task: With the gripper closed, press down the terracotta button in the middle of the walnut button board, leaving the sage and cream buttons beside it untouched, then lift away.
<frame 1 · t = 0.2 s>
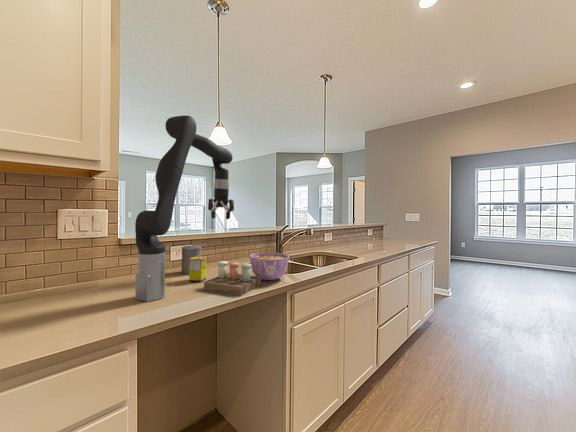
hand: (220, 218, 145), 29 cm above the counter, tool pointing down, fingers open, 8 cm apart
pillar candle: (191, 272, 145), on the counter
walnut board: (233, 287, 121), on the counter
sage button: (246, 272, 119), point 7 cm above the counter, slide at 0.0 cm
supplement box: (197, 280, 130), on the counter
terracotta button: (234, 271, 121), point 7 cm above the counter, slide at 0.0 cm
bowl of food: (268, 279, 137), on the counter
cream button: (222, 269, 123), point 7 cm above the counter, slide at 0.0 cm
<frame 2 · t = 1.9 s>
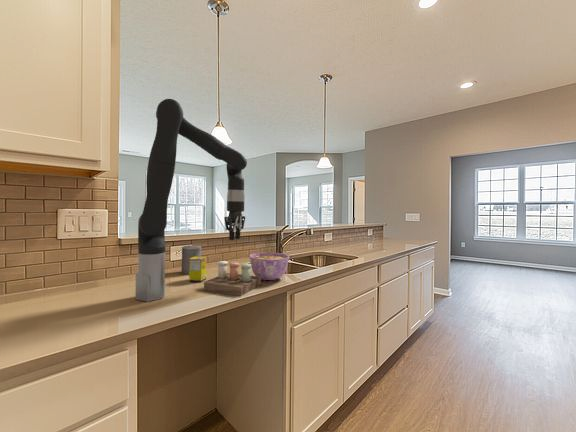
hand: (234, 239, 120), 21 cm above the counter, tool pointing down, fingers open, 4 cm apart
nothing on the counter moved.
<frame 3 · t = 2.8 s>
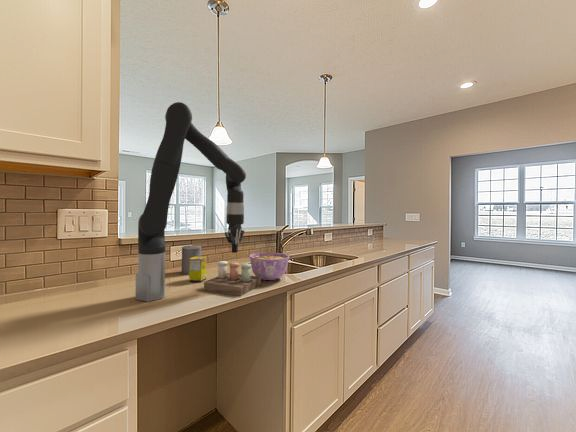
hand: (234, 252, 120), 15 cm above the counter, tool pointing down, fingers closed
nothing on the counter moved.
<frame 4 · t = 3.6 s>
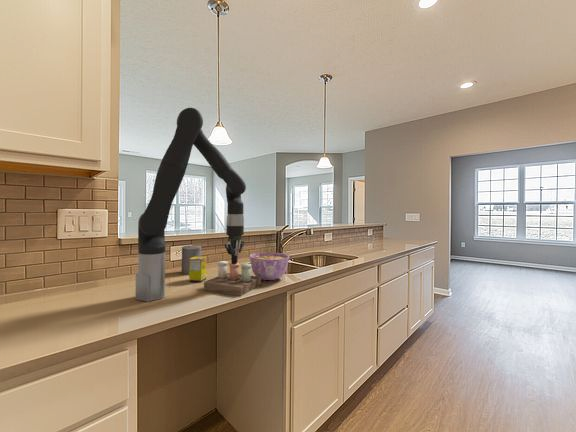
hand: (234, 263, 121), 11 cm above the counter, tool pointing down, fingers closed
terracotta button: (234, 271, 121), point 7 cm above the counter, slide at 0.1 cm, touching gripper
everything else where it was.
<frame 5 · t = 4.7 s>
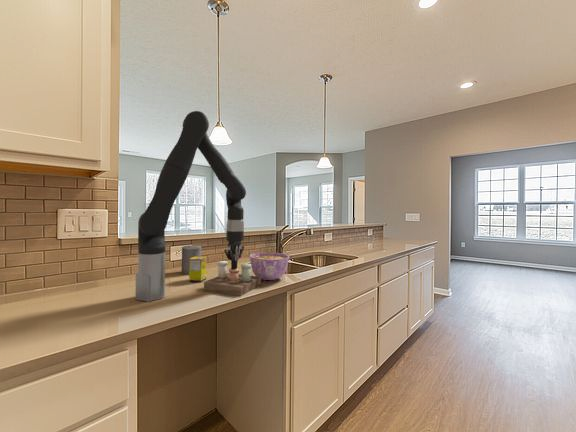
hand: (234, 268, 121), 8 cm above the counter, tool pointing down, fingers closed
terracotta button: (233, 276, 121), point 5 cm above the counter, slide at 2.5 cm
everything else where it was.
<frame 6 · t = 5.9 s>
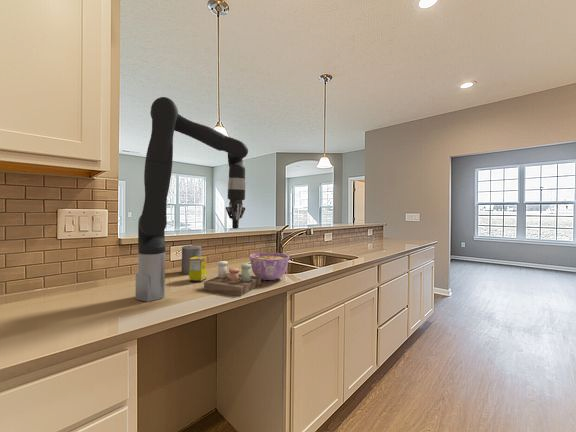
hand: (235, 228, 120), 26 cm above the counter, tool pointing down, fingers closed
nothing on the counter moved.
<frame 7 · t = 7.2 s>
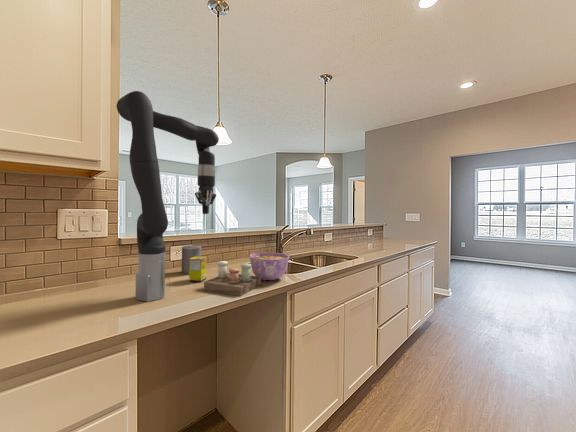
hand: (205, 213, 124), 32 cm above the counter, tool pointing down, fingers closed
nothing on the counter moved.
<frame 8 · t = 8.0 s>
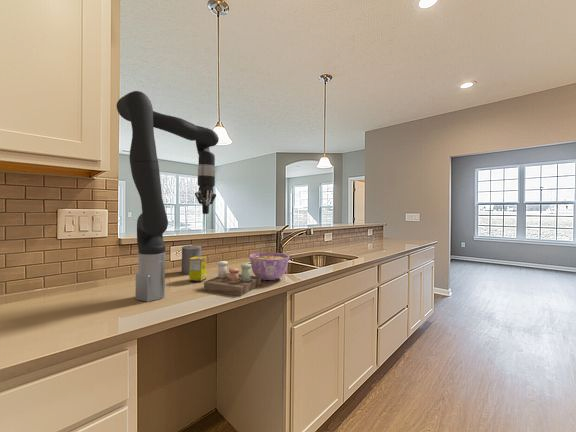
hand: (205, 213, 124), 32 cm above the counter, tool pointing down, fingers closed
nothing on the counter moved.
at the end: terracotta button slide at 2.5 cm; sage button slide at 0.0 cm; cream button slide at 0.0 cm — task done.
